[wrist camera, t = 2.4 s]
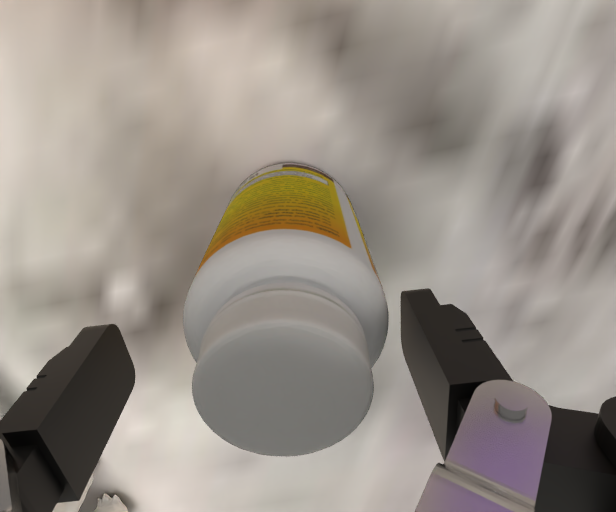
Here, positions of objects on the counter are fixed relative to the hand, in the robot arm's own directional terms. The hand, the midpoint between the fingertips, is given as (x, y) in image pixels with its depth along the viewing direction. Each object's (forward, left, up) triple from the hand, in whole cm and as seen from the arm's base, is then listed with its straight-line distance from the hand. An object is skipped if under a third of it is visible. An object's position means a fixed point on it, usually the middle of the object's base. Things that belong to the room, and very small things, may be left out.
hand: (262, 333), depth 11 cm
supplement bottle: (-1, 0, -8) cm, 8 cm away
